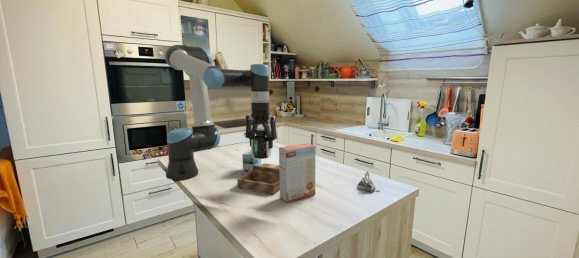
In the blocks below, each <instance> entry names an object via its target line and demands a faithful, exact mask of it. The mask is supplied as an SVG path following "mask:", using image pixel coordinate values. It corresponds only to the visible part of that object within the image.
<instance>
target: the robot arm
mask: <svg viewBox="0 0 579 258" xmlns="http://www.w3.org/2000/svg"><path fill="white" fill-rule="evenodd" d="M164 60H165V62H166V63H167V65H168V66H169V67H171V68H172V69H175V70H176V71H184V72H185V75H187V76H188V80H189V88H190V97H191V104H192V114H193V122H194V123H193V124H192V125H191V127H189V126H188V127H178V128H175V129H172V130H170V131H169V132H168V133H167V134H166V137H167V138H166V142H167V153H168V155H167V156H168V165H167V169H166V170H165V178H166V179H169V180H173V181H174V180H175V181H177V180H188V179H191V178H194V177H196V176H197V175H199V168H198V167H197V164H196V160H195V157H194V156H195V155H194V153H197V152H201V151H203V152H204V151H209V150H213V149H215V148H216V147H218V146H219V144H220V143H221V142H220V141H221V131H220V130H219V128H218V127H216V126H215V123H214V122H213V121H212V117H211V107H210V98H209V89H208V88H211V89H212V88H214V89H223V88H224V89H225V88H228V89H229V88H232V89H233V88H234V89H237V88H238V89H244V88H246V89H247V88H250V97H251V99H250V100H251V106H250V107H251V110H250V111H251V114H249V115H245V122H246V123H245V124H246V125H245V135H244V137H245V139H249V147H250V148H251V149H250V150H251V155H254V137H255V136H256V130H257V129H258V127H259V126H260V125H262V127H263V129H265V132H266V135H267V138H268V141H266V144H267V157H268V156H269V157H271V156H272V149H273V148H274V147H273V146H274V141H275V140H277V139H278V136H277V127H276V119H277V116H276V115H274V116H273V115H271V114H270V87H269V86H270V71H269V66H268V65H267V64H265V63H264V64H263V63H253V64H251V65H250V68H249V69H246V70H245V69H243V70H242V69H231V68H230V69H227V68H220V67H218V66H217V65H213V57H212V54H211V53H210V51H209V50H208V49H207V48H205V47H200V46H194V45H193V46H192V45H185V44H184V45H183V44H175V45H171V46H170V47H168V48H167V49H166V51H165V54H164ZM269 157H268V158H269Z"/></svg>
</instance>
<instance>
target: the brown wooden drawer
mask: <svg viewBox="0 0 579 258" xmlns="http://www.w3.org/2000/svg"><path fill="white" fill-rule="evenodd" d="M236 180H237V181H236V182H237V183H236V185H237V189H242V190H245V191H251V192H257V193H263V194H269V195H276V194H277V193H278V192H280V177H279V175H272V174H265V173H258V172H250V173H248V174H246V175H243V176H241V177H239V178H237V179H236Z"/></svg>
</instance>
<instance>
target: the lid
mask: <svg viewBox="0 0 579 258" xmlns="http://www.w3.org/2000/svg"><path fill="white" fill-rule="evenodd" d="M251 172H258V173H265V174H272V175H279V164H273V163H261V165H259V166H253V169H252V170H251Z"/></svg>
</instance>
